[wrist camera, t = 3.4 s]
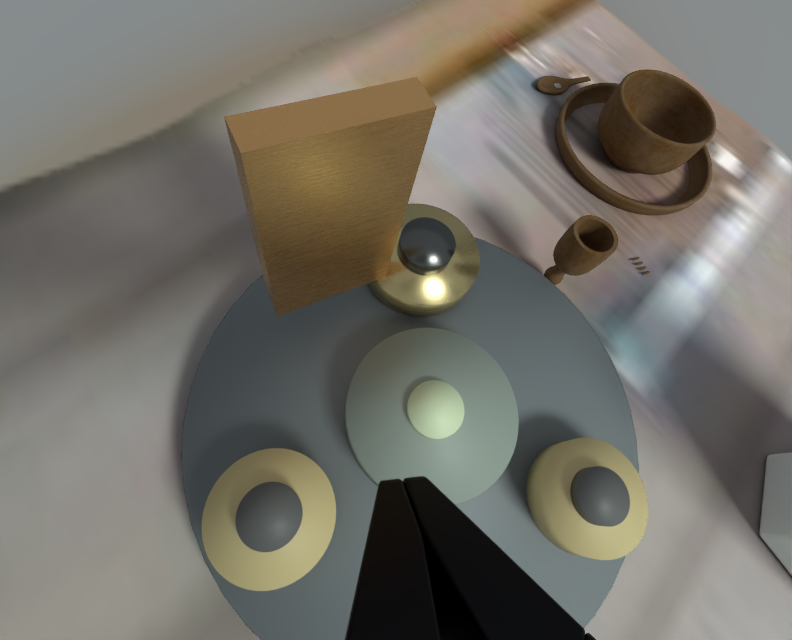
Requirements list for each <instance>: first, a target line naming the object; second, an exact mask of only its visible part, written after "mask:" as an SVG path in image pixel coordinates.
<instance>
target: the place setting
mask: <svg viewBox="0 0 792 640" xmlns="http://www.w3.org/2000/svg"><path fill="white" fill-rule="evenodd" d="M587 81H591V79H590V78H589V77H581V78H574V79H564V78H560V77H555V76H545V77H542V78H541V79H540V80H539V81H538V82H537V84H536V86H537V88H538V89H539V90H540V91H541V92H543V93H545V94H552V95H556V94H561V93H563V92H565V91H566V90H567V89H568V88H569V87H570V86H571V85H573V84H577V83H583V82H587ZM555 83H559V84H560V85H561V86H562V87H561V88H556V87H555V86H554V84H555ZM599 102H606V105H605V106H604V108H603V110H602V112H601V115H600V118H599V122H598V133H599V138H600V140H601V143H602V145H603V150H604V153H605V155H606V156H607V158H608V159H609V160H610V161H611V162H612V163H613V164H614V165H615V166H616V167H618V168H620V169H621V170H623V171H626V172H629V173H641V174H648V175H656V174H663V173H667V172H670V171H672V170H674V169H676V168H678V167H679V166H681V165H682V164H684V163H685V162H686V161H688V164H689V168H690V184H689V187H688V190H687V192H686V193H685V195H684V196H683V197H682V198H681V200H679V201H678V202H677V203H675V204H673V205H654V204H648V203H644V202H640V201H637V200H634V199H631V198H628V197H626V196H624V195H622V194H620V193H618V192H616V191H614V190H613V189H611V188H609V187H608V186H606V185H605V184H603V183H602V182H601V181H599V180H598V179H597V178H596V177H595V176H593V175H592V174H591V173H590V172H589V171H588V170H587V169H586V168H585V167H584V165H583V164H582V163H581V162H580V161H579V159H578V158H577V156H576V155H575V153H574V152H573V150H572V148H571V146H570V144H569V142H568V139H567V136H566V132H565V122H566V120H567V118H568V117H569V116H570V114H571V113H572V112H574V111H575V110H576V109H578V108H580V107H581V106H584V105H587V104H591V103H599ZM715 130H716V121H715V116H714V113H713V111H712V109H711V107H710V105H709V104H708V102H707V101H706V100H705V98H704V97H703V96H702V95H701V94H700V93H699V92H698V91H697V90H696V89H695V88H693V87H692V86H691V85H689V84H688V83H686V82H685V81H683V80H682V79H680V78H678V77H676V76H673V75H671V74H668V73H665V72H662V71H657V70H639V71H635V72H632V73H630V74H628V75H627V76H626V77H625V78H624V79H623V80H622V82H621V83H620V84H616V83H598V84H591V85H588V86H585V87H583V88H580V89H578V90H577V91H575V92H574V93H573V94H571V96H570V97H569V98H568V99H567V100H566V102H565V104H564V105H563V107H562V109H561V111H560V114H559V116H558V120H557V126H556V138H557V143H558V148H559V151H560V153H561V156H562V158H563V160H564V162H565V164H566V165H567V167H568V168H569V170H570V171H571V173H572V174H573V175H574V176H575V178H576V179H577V180H578V181H579V182H580V183H581V184H582V185H583V186H584V187H585V188H587V189H588V190H589V191H590V192H591V193H593V194H594V195H596V196H597V197H599V198H600V199H602V200H603V201H605V202H607V203H609V204H611V205H613V206H615V207H617V208H620V209H623V210H626V211H628V212H633V213H637V214H644V215H664V214H670V213H674V212H677V211H680V210H682V209H684V208H687V207H689V206H690V205H692V204H693V203H695V202H696V201H697V200H698V199H700V198H701V197H702V196H703V195H704V194H705V192H706V191H707V189H708V187H709V185H710V182H711V178H712V163H711V158H710V155H709V152H708V149H707V147H706V145H705V144H706V143H707V142H708V141H710V139H711V138H712V137H713V135H714V133H715ZM617 246H618V237H617V234H616V232H615V230H614V229H613V227H612V226H611V225H610V224H609V223H608V222H607V221H605V220H603V219H602V218H600V217H597V216H592V215H586V216H582V217H580V218H579V219H578V220H577V221H576V222H575V223H573V224H572V225H571V227H570V228H569V229H568V230H567V231H566V232H565V233H564V235H563V236H562V237H561V238H560V240H559V241H558V243H557V244H556V246H555V249H554V254H553V256H554V261H555V264H556V265H555V266H553V267H550V268H548V269H547V270H546V271H545V273H544V276H545V277H546V278H547V279H548V280H549V281H550V282H552V283H553V284H554V285H556V284H558V283H560V282H561V281H562V279H563V276H564V274H569V275H575V276H576V275H582V274H585V273H587V272H589V271H591V270H592V269H594V268H595V267H597V266H598V265H599V264H601V263H602V262H603V261H604V260H606V259H607V258H608V257H609V256H610V255H611V254H612V253H613V252H614V251H615V250H616V248H617ZM638 259H639V257H637V258H634V259H632V260H638ZM642 263H643V262H639V263H637V264H635V265H640V264H642ZM645 268H646V267H642V268H640V269H639V270H642V269H645ZM649 272H650V271H647V272H644V273H643V274H648V273H649Z"/></svg>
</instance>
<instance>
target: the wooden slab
mask: <svg viewBox="0 0 792 640" xmlns="http://www.w3.org/2000/svg"><path fill="white" fill-rule="evenodd" d="M435 111H436V105H435V104H434V102H433V101H432V99H431V98H430V96H429V95H428V93H427V91H426V90H425V88H424V87H423V85H422V84H421V82H420V81H419V79H418V78H417V77H415V78H410V79H405V80H401V81H396V82H391V83H386V84H381V85H376V86H372V87H367V88H362V89H357V90H352V91H347V92H343V93H338V94H333V95H328V96H323V97H318V98H313V99H309V100H304V101H299V102H294V103H289V104H284V105H280V106H275V107H270V108H265V109H260V110H255V111H251V112H246V113H241V114H236V115H231V116H226V117H224V118H225V122H226V126H227V130H228V134H229V138H230V142H231V146H232V150H233V154H234V158H235V162H236V167H237V171H238V175H239V179H240V183H241V187H242V191H243V195H244V199H245V203H246V207H247V211H248V215H249V219H250V223H251V228H252V232H253V236H254V240H255V244H256V248H257V252H258V256H259V260H260V264H261V268H262V272H263V276H264V280H265V284H266V289H267V293H268V296H269V298H270V300H271V303H272V305H273V307H274V310H275V312H276V314H277V316H280V315H283V314H286V313H288V312H291V311H294V310H297V309H299V308H302V307H305V306H308V305H310V304H313V303H316V302H319V301H321V300H324V299H327V298H330V297H332V296H335V295H338V294H341V293H343V292H346V291H349V290H352V289H354V288H357V287H360V286H363V285H365V284H368V286H369V288H370V290H371V291H372V293H373V294H374V295H375V296H376V297H377V298H378V299H379V300H380V301H381V302H382V303H383V304H384V305H386V306H387V307H389V308H390V309H392V310H394V311H396V312H398V313H400V314H404V315H407V316H412V317H421V318H424V317H433V316H437V315H440V314H443V313H445V312H447V311H449V310H451V309H452V308H454V307H455V306H456V305H457V304H458V303H459V302H460V301H461V300H462V298H463V297H464V296H465V294H466V293H467V291H468V290H469V289H470V287H471V286H472V284H473V283H474V281H475V279H476V277H477V274H478V271H479V266H480V256H479V250H478V246H477V244H476V241H475V239H474V237H473V235H472V234H471V232H470V231H469V229H468V228H467V227H466V226H465V225H464V224H463V223H462V222H461V221H460V220H459V219H458V218H456V217H455V216H453V215H452V214H450V213H448V212H447V211H445V210H442V209H440V208H437V207H434V206H430V205H425V204H408V201H409V197H410V194H411V191H412V187H413V184H414V181H415V177H416V174H417V171H418V167H419V164H420V161H421V157H422V154H423V151H424V147H425V144H426V141H427V137H428V134H429V131H430V127H431V124H432V121H433V117H434V114H435Z"/></svg>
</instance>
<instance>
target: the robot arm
mask: <svg viewBox="0 0 792 640" xmlns="http://www.w3.org/2000/svg"><path fill="white" fill-rule="evenodd" d="M345 640H596V639H595V638H594V637H593V636H592V635H591V634H589V633H586V634H585V630H584V628H583V627H582V626H581V625H580V624H579V623H578V622H577V621H576V620H575V619H574V618H573V617H572V616H571V615H570V614H569V613H567V612H566V611H565V610H564V609H563V608H562V607H561V606H560V605H559V604H558V603H557V602H556V601H555V600H554V599H553V598H552V597H551V596H550V595H549V594H548V593H547V592H546V591H545V590H544V589H542V588H541V587H540V586H539V585H538V584H537V583H536V582H535V581H534V580H533V579H532V578H531V577H530V576H529V575H528V574H527V573H526V572H525V571H524V570H523V569H522V568H521V567H520V566H519V565H517V564H516V563H515V562H514V561H513V560H512V559H511V558H510V557H509V556H508V555H507V554H506V553H505V552H504V551H503V550H502V549H501V548H500V547H499V546H498V545H497V544H496V543H495V542H494V541H492V540H491V539H490V538H489V537H488V536H487V535H486V534H485V533H484V532H483V531H482V530H481V529H480V528H479V527H478V526H477V525H476V524H475V523H474V522H473V521H472V520H471V519H470V518H469V517H467V516H466V515H465V514H464V513H463V512H462V511H461V510H460V509H459V508H458V507H457V506H456V505H455V504H454V503H453V502H452V501H451V500H450V499H449V498H448V497H447V496H446V495H445V494H444V493H442V492H441V491H440V490H439V489H438V488H437V487H436V486H435V485H434V484H433V483H432V482H431V481H430V480H429V479H428V478H427V477H425V476H417V477H408V478H405V479H404V480H403V481H402V480H401V479H390V480H382V481H380V482H379V485H378V489H377V494H376V498H375V503H374V507H373V512H372V516H371V521H370V526H369V530H368V535H367V539H366V544H365V548H364V553H363V558H362V562H361V567H360V571H359V576H358V580H357V585H356V590H355V594H354V599H353V603H352V608H351V612H350V617H349V622H348V626H347V631H346V635H345Z"/></svg>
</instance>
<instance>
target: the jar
mask: <svg viewBox="0 0 792 640" xmlns="http://www.w3.org/2000/svg"><path fill="white" fill-rule="evenodd" d="M759 534H760V536H761V538H762V539H763V540H764V542H765V543H766V544H767V545H768V547H769V548H770V549H771V550H772V552H773V553H774V554H775V555H776V557H777V558H778V559H779V560H780V562H781V563H782V564H783V565H784V567H785V568H786V569H787V570H788V572H789V573H790V574H791V575H792V452H789V453H779V454H771V455H768V457H767V459H766V469H765V479H764V490H763V500H762V510H761V520H760V530H759Z"/></svg>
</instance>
